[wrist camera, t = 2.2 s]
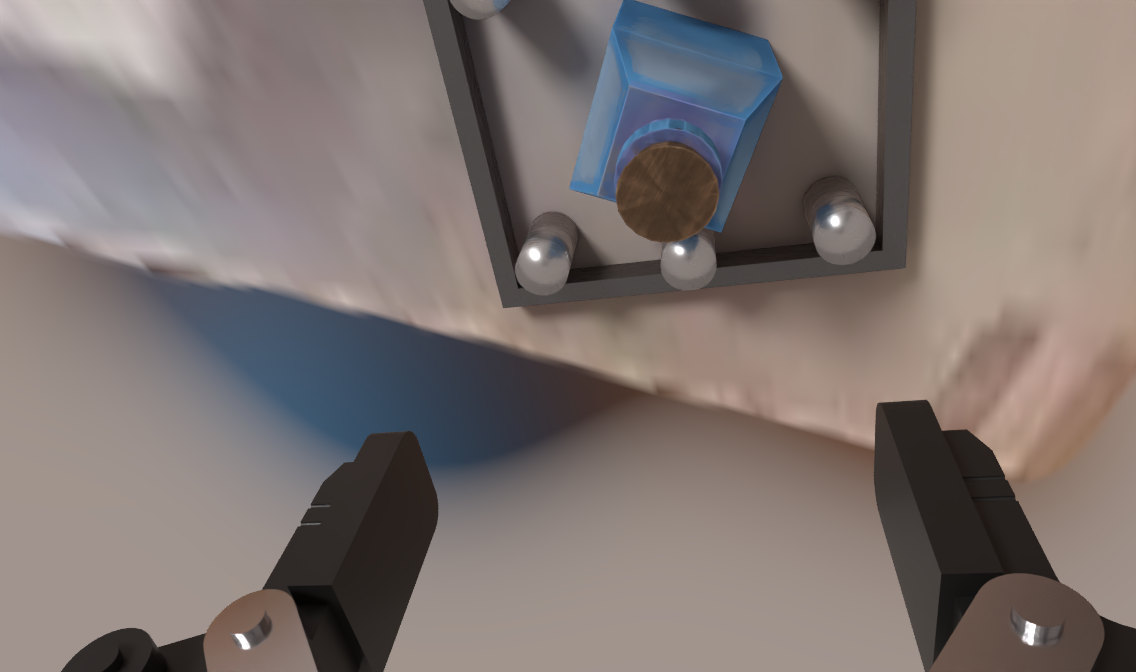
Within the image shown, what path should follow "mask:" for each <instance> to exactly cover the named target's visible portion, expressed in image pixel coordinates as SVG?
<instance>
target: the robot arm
mask: <svg viewBox="0 0 1136 672" xmlns="http://www.w3.org/2000/svg"><path fill="white" fill-rule="evenodd" d="M874 485H875V494H876V501H877V506H878V511H879V514H880V518H881V522H882V525H883V528H884V532H885V535H886V539H887V542H888V546H889V549H890V553H891V556H892V559H893V563H894V566H895V570H896V573H897V576H898V580H899V583H900V586H901V590H902V594H903V597H904V601H905V604H906V608H907V611H908V615H909V618H910V621H911V625H912V628H913V632H914V635H915V639H916V642H917V645H918V649H919V652H920V655H921V659H922V662H923V666H924V670H925V672H1136V629H1135V628H1132V627H1128V626H1124V625H1121V624H1118V623H1116V622H1113V621H1111V620H1108V619H1106V618H1104V617H1102V616H1100V615H1099V614H1098V613H1097V611H1096V610H1095V609H1094V607H1093V606H1092V605H1091V604H1090V603H1089V602H1088V601H1087V600H1086V599H1085V598H1084V597H1083V596H1081V595H1080V594H1079V593H1078V592H1076V591H1074V590H1073V589H1071V588H1070V587H1068V586H1066V585H1064V584H1062V583H1060V582H1059V580H1058V578H1057V577H1056V575H1055V573H1054V571H1053V569H1052V567H1051V565H1050V563H1049V561H1048V560H1047V557H1046V555H1045V553H1044V551H1043V549H1042V547H1041V545H1040V544H1039V542H1038V540H1037V538H1036V536H1035V534H1034V532H1033V530H1032V528H1031V526H1030V524H1029V522H1028V520H1027V518H1026V516H1025V515H1024V512H1023V510H1022V508H1021V506H1020V504H1019V502H1018V501H1016V500H1015V494H1014V492H1013V490H1012V488H1011V486H1010V485H1009V483H1008V481H1007V480H1005V475H1004V473H1003V471H1002V469H1001V467H1000V465H999V463H998V461H997V459H996V457H995V455H994V453H993V451H992V450H991V449H990V448H989V447H987V446H986V445H985V444H984V443H983V442H981V441H980V440H979V439H978V438H977V437H975V436H974V435H973V434H972V433H970V432H969V431H968V430H967V429H966V430H948V431H942V430H941V428H940V426H939V423H938V421H937V419H936V416H935V414H934V412H933V410H932V407H931V405H930V403H929V402H928V401H927V400H916V401H900V402H884V403H878V404H877V408H876V425H875V459H874ZM437 520H438V499H437V494H436V491H435V488H434V485H433V482H432V479H431V477H430V474H429V471H428V468H427V465H426V463H425V460H424V456H423V454H422V451H421V448H420V445H419V442H418V440H417V438H416V436H415V435H414V433H413V432H411V431H404V432H389V433H374V434H370V435H369V436H368V437H367V439H366V440H365V442H364V444H363V446H362V447H361V449H360V451H359V453H358V455H357V457H356V459H355V460H354V462H346V463H344V464H343V465H341V466H340V467H339V468H338V469H337V470H336V471H335V472H334V473H333V474H332V475H331V476H330V477H328V478H327V479H326V480H325V481H324V482H323V484H322V485H321V487H320V489H319V491H318V492H317V494H316V496H315V498H314V499H313V501H312V503H311V509H308V510H307V512H306V514H305V515H304V517H303V519H302V521H301V526H300V527H297V529H296V531H295V533H294V535H293V536H292V538H291V540H290V542H289V543H288V545H287V547H286V549H285V551H284V552H283V554H282V556H281V558H280V559H279V561H278V563H277V564H276V566H275V568H274V570H273V572H272V573H271V575H270V577H269V578H268V580H267V582H266V584H265V586H264V587H263V589H262V590H260V591H256V592H253V593H250V594H248V595H245V596H243V597H241V598H240V599H238V600H236V601H234V602H233V603H232V604H230V605H229V606H227V607H226V608H225V609H224V610H223V611H222V612H221V613H220V614H219V615H218V616H217V617H216V618H215V619H214V621H213V622H212V623H211V625H210V627H209V628H208V630H207V632H206V633H205V634H202V635H198V636H195V637H192V638H188V639H185V640H182V641H178V642H175V643H171V644H168V645H164V646H161V647H157V646H156V644H155V643H154V641H153V640H152V638H151V637H150V636H149V635H148V633H146V632H145V631H143V630H141V629H137V628H126V629H120V630H117V631H113V632H111V633H108V634H106V635H104V636H102V637H100V638H98V639H96V640H94V641H93V642H91V643H90V644H88V645H87V646H86V647H84V648H83V649H82V650H80V651H79V652H78V653H77V654H76V655H75V656H74V657H73V658H72V659H71V660H70V661H69V662H68V663H67V664H66V666H65V667H64V668H63V670H62V671H61V672H383V671H384V668H385V666H386V663H387V660H388V657H389V654H390V652H391V649H392V646H393V643H394V641H395V638H396V636H397V633H398V630H399V627H400V625H401V621H402V619H403V616H404V613H405V611H406V608H407V605H408V603H409V600H410V597H411V595H412V592H413V589H414V586H415V584H416V581H417V578H418V575H419V572H420V570H421V567H422V564H423V562H424V559H425V556H426V553H427V551H428V548H429V545H430V542H431V540H432V537H433V534H434V532H435V529H436V525H437Z"/></svg>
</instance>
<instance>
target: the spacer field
mask: <svg viewBox="0 0 1136 672" xmlns="http://www.w3.org/2000/svg"><path fill="white" fill-rule="evenodd" d="M510 1H511V0H423V2H424V6H425V9H426V13H427V17H428V21H429V25H430V29H431V32H432V36H433V40H434V44H435V48H436V52H437V56H438V59H439V63H440V67H441V71H442V75H443V79H444V82H445V86H446V90H447V94H448V98H449V102H450V105H451V109H452V113H453V117H454V121H455V125H456V129H457V132H458V136H459V140H460V144H461V148H462V152H463V155H464V159H465V163H466V167H467V171H468V175H469V179H470V182H471V186H472V190H473V194H474V198H475V202H476V205H477V209H478V213H479V217H480V221H481V225H482V228H483V232H484V236H485V240H486V244H487V248H488V252H489V255H490V259H491V263H492V267H493V271H494V275H495V278H496V282H497V286H498V290H499V294H500V298H501V301H502V305H503V308H510V307H520V306H530V305H540V304H550V303H560V302H570V301H580V300H590V299H600V298H610V297H620V296H630V295H640V294H650V293H660V292H670V291H680V290H685V291H692V290H697V289H700V288H711V287H721V286H731V285H741V284H751V283H761V282H771V281H781V280H791V279H801V278H811V277H821V276H831V275H841V274H851V273H861V272H871V271H881V270H891V269H901V268H905V267H906V242H907V218H908V193H909V168H910V143H911V119H912V94H913V69H914V44H915V19H916V0H880V34H879V89H878V143H877V198H876V232H875V228H874V226H873V223H872V221H871V219H870V217H869V215H868V213H867V211H866V209H865V207H864V205H863V203H862V201H861V199H860V197H859V195H858V193H857V191H856V189H855V187H854V186H853V184H852V183H850V182H849V181H848V180H846V179H844V178H841V177H827V178H823V179H821V180H819V181H817V182H816V183H814V184H813V185H812V186H811V187H810V188H809V189H808V191H807V192H806V194H805V197H804V200H803V208H804V212H805V215H806V218H807V221H808V225H809V228H810V231H811V234H812V237H813V240H814V243H811V244H802V245H793V246H784V247H774V248H765V249H756V250H747V251H737V252H728V253H719V254H716V250H715V235H714V231H713V230H710V229H706V228H703V229H702V230H701V231H699V232H698V233H697V234H695V235H693V236H691V237H689V238H687V239H685V240H682V241H676V242H669V243H664V242H662V253H661V260H654V261H645V262H636V263H627V264H617V265H608V266H599V267H590V268H580V269H571V270H570V267H571V263H572V260H573V256H574V252H575V249H576V245H577V241H578V230H577V227H576V225H575V223H574V222H573V221H572V220H571V219H570V218H569V217H568V216H566V215H564V214H562V213H559V212H546V213H543V214H541V215H539V216H538V217H537V218H536V219H535V220H534V221H533V223H532V225H531V227H530V230H529V232H528V235H527V237H526V240H525V242H524V244H523V247H522V249H521V252H520V254H518V250H517V245H516V241H515V237H514V233H513V229H512V225H511V220H510V216H509V212H508V208H507V204H506V199H505V195H504V191H503V187H502V183H501V179H500V174H499V170H498V166H497V162H496V158H495V153H494V149H493V145H492V141H491V137H490V133H489V128H488V124H487V120H486V116H485V112H484V107H483V103H482V99H481V95H480V91H479V87H478V82H477V78H476V74H475V70H474V66H473V61H472V57H471V53H470V49H469V45H468V41H467V36H466V32H465V28H464V24H463V20H462V15H464V16H466V17H468V18H471V19H476V20H482V19H487V18H490V17H492V16H494V15H496V14H497V13H498V12H499V11H500V10H501V9H503V8H504V7H505V6H506V5H507V4H508V3H509V2H510ZM461 14H462V15H461Z"/></svg>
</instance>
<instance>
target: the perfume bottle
mask: <svg viewBox="0 0 1136 672" xmlns="http://www.w3.org/2000/svg"><path fill="white" fill-rule="evenodd" d="M782 79H783V76H782V73H781V71H780V69H779V66H778V64H777V61H776V59H775V56H774V54H773V52H772V49H771V47H770V44H769V42H768V40H766V39H763V38H759V37H756V36H753V35H749V34H746V33H743V32H739V31H736V30H732V29H729V28H726V27H722V26H719V25H715V24H712V23H709V22H705V21H702V20H699V19H695V18H692V17H688V16H685V15H682V14H678V13H675V12H671V11H668V10H665V9H661V8H658V7H655V6H651V5H648V4H644V3H641V2H638V1H634V0H623V3H622V5H621V8H620V10H619V13H618V15H617V18H616V20H615V22H614V25H613V28H612V31H611V35H610V39H609V42H608V46H607V50H606V54H605V57H604V61H603V65H602V69H601V72H600V76H599V80H598V84H597V87H596V91H595V95H594V98H593V102H592V106H591V110H590V113H589V117H588V121H587V125H586V128H585V132H584V136H583V139H582V143H581V147H580V151H579V154H578V158H577V162H576V166H575V169H574V173H573V177H572V181H571V184H570V188H569V189H571V190H574V191H578V192H581V193H585V194H588V195H592V196H595V197H599V198H602V199H606V200H609V201H613V202H616V203H617V207H618V212H619V213H620V215H621V217H622V218H623V220H624V222H625V223H626V225H627V226H628V227H630V228H631V229H632V230H633V231H634V232H635V233H636V234H638V235H640V236H642V237H644V238H647V239H649V240H651V241H657V242H664V243H669V242H676V241H682V240H685V239H687V238H689V237H691V236H693V235H695V234H697V233H698V232H699V231H701V230H702V229H703V228H706V229H710V230H713V231H717V232H720V233H721V232H722V230H723V227H724V225H725V222H726V220H727V217H728V215H729V212H730V209H731V207H732V204H733V202H734V199H735V197H736V194H737V192H738V189H739V187H740V184H741V182H742V179H743V177H744V174H745V172H746V169H747V167H748V164H749V162H750V159H751V157H752V154H753V152H754V149H755V147H756V144H757V142H758V139H759V137H760V134H761V132H762V129H763V127H764V124H765V122H766V119H767V117H768V114H769V112H770V109H771V107H772V104H773V102H774V99H775V97H776V94H777V91H778V89H779V86H780V84H781V81H782Z"/></svg>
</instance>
